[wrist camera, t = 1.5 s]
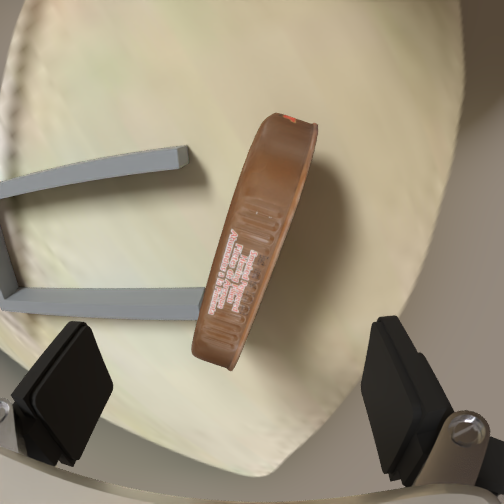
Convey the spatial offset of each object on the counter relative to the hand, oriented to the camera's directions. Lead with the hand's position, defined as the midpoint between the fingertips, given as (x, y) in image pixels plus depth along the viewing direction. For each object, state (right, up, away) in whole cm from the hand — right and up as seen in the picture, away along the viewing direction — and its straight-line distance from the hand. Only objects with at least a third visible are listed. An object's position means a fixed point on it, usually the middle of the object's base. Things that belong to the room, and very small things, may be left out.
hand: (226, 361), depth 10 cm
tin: (+1, +5, +12) cm, 13 cm away
